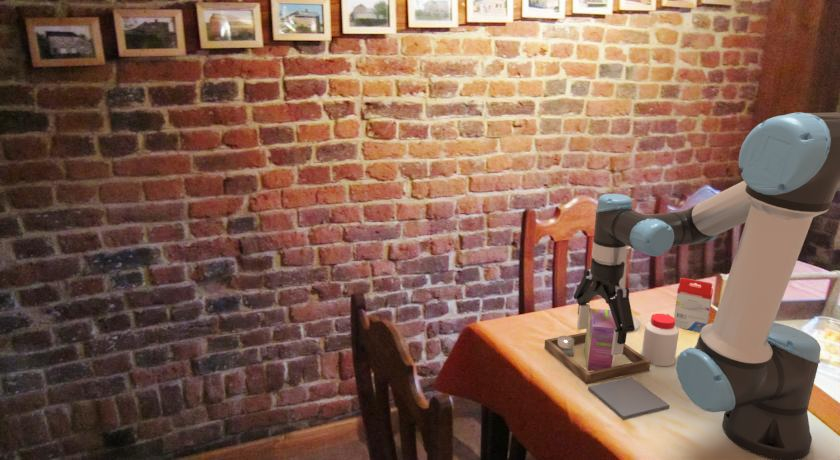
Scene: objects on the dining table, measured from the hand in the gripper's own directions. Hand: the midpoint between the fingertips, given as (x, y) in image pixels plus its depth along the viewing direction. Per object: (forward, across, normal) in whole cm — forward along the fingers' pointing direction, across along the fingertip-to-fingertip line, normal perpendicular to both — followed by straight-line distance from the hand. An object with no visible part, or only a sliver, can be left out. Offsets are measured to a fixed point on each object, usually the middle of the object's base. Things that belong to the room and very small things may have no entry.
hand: (598, 340), depth 141 cm
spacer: (+6, +6, +6) cm, 10 cm away
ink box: (+6, +7, -36) cm, 37 cm away
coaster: (+5, -16, +4) cm, 18 cm away
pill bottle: (+6, -4, -15) cm, 17 cm away
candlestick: (+6, +16, -18) cm, 25 cm away
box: (+6, 0, 0) cm, 6 cm away
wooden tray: (+5, +1, 0) cm, 5 cm away
